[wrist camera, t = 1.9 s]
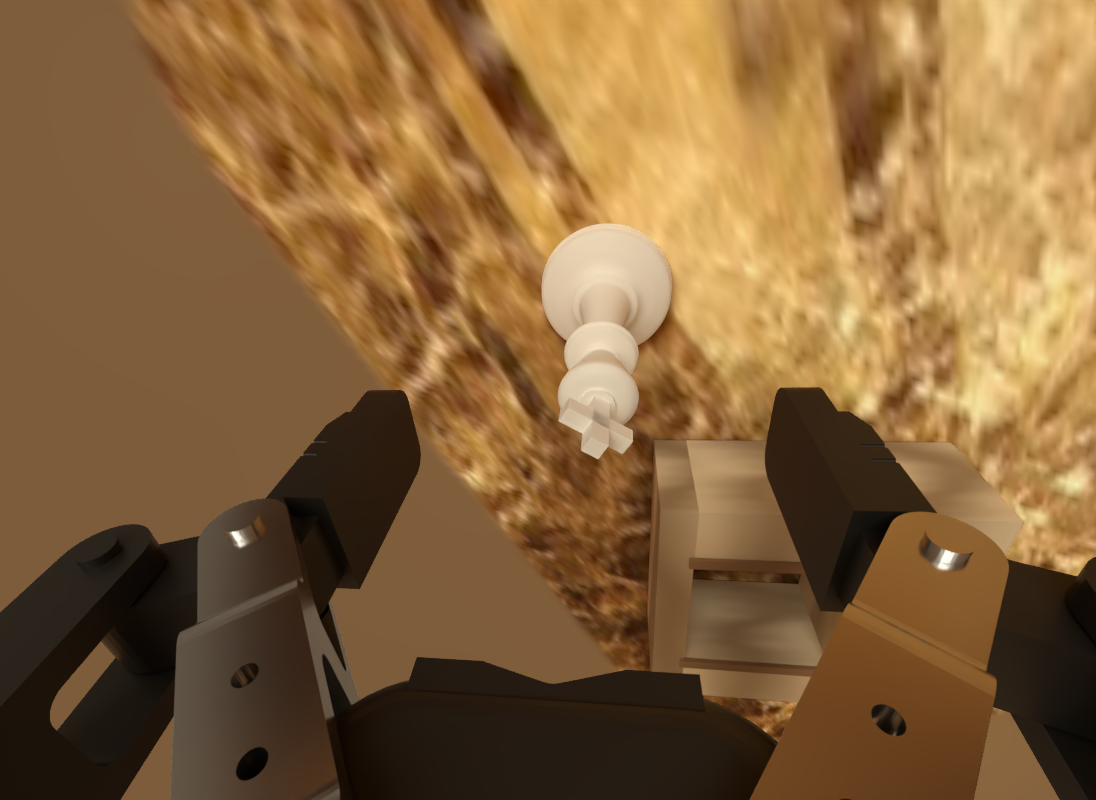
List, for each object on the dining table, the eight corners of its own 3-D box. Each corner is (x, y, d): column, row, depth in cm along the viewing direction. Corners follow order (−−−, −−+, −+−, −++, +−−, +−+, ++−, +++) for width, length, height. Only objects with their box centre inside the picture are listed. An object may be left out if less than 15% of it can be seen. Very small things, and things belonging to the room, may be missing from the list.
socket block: (950, 442, 21) (1026, 524, 17) (875, 624, 27) (919, 715, 23) (653, 439, 23) (661, 514, 19) (647, 611, 29) (651, 693, 25)
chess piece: (625, 368, 21) (628, 558, 13) (520, 310, 20) (448, 472, 12) (699, 267, 18) (766, 419, 10) (582, 196, 18) (547, 297, 9)
